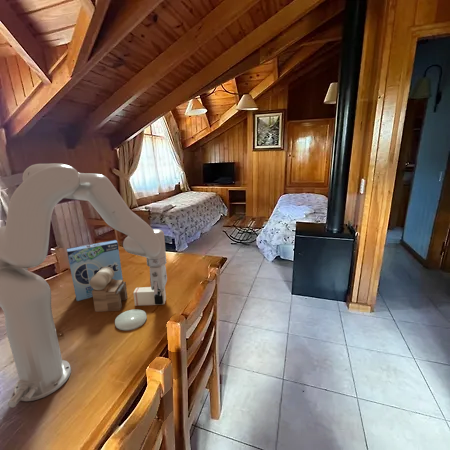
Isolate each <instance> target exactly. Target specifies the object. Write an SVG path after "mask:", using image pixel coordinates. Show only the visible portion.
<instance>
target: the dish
mask: <svg viewBox="0 0 450 450" xmlns="http://www.w3.org/2000/svg"><path fill="white" fill-rule="evenodd" d="M146 322H147V312H146V311H145V310H142V309H140V308H139V309H138V308H137V309H136V308H135V309H130V310H126V311H123V312H121V313H120V314H119V315H117V316H116V317H115V320H114V325H115V328H116V329H117V330H120V331H132V330H136V329H138V328H140V327H142V326H143V325H144V324H145V323H146Z"/></svg>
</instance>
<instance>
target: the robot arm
mask: <svg viewBox="0 0 450 450" xmlns="http://www.w3.org/2000/svg"><path fill="white" fill-rule="evenodd" d="M63 199H68V200H78V201H85V202H86V201H87V202H89V203H90V206H92V207H93V208H94V210H95V211H96V212H97V214H99V216H100V217H101V218H102V220H103V222H105V223H106V224H107V225H108V226H109V227H111V228H112V229H114V230H115V231H118V232H119V233H122V234H124V235H125V236H126V237H125V238H124V239H123V241H122V242H123V243H122V248H123V250H125V252H126V253H128V254H130V255H131V254H132V255H136V256H139V257H144V258H146V265H147V267H149V281H150V287H151V289H152V290H154V299H155V304H162V305H164V304H163V296H162V293H161V290H163V289H164V288H165V289H166V285H167V282H168V275H167V268H166V265H167V253H166V252H167V251H166V241H165V232H164V231H163V230H162V229H159V228H152V226H150V225H149V224H148V222H146V221H145V220H143V218H141V217H140V216H139V215H138V214H136V213H135V212H133V211H132V210H131V209H130V207H129V205H127V203H126V202H125V201H124V199H123V197H122V195H120V193H119V192H118V190H117V189H116V187H115V186H114V184H113V183H112V182H111V180H110V179H109V178H108V177H107V176H106V175H103V174H102V173H101V174H100V173H89V172H88V173H87V172H86V173H84V172H79V171H78V170H77V169H76V168H74V167H73V166H71V165H68V164H64V163H54V162H53V163H35V164H31V165H30V166H28V167H27V168H26V169H24V171H23V173H22V182H21V183H20V184H19V185H18V186H17V187H16V189H15V190H14V191H13V193H12V195H11V197H10V199H9V204H8V207H7V208H8V209H7V215H6V220H5V225H3V226H0V308H1V310H2V311H3V314H4V326H5V332H6V337H7V340H8V343H9V347H10V350H11V353H12V358H13V361H14V365H15V369H16V373H17V375H18V380H17V381H16V383H15V385H14V388H13V392H14V395H12V397H11V398H10V400H9V401H8V402H7V406H8V407H9V408H15V407H17V405H18V404H19V403H20V402H21V401H22V402H32V401H37V400H40V399H43V398H45V397H47V396H49V395H51V394H53V393H54V392H56V391H57V390H58V389H60V388H61V387H62V386H63V385H64V384H65V383H66V382H67V381H68V379H69V378H70V375H71V373H72V367H71V364H70V363H69V361H67V360H64V359H63V357H62V352H61V349H60V344H59V339H58V333H57V329H56V324H55V321H54V316H53V310H52V289H51V286H50V285H49V283H48V281H47V280H46V279H45V278H43V277H42V276H40V275H38V274H37V273H34V272H32V271H29V270H28V269H31V268H36V267H38V266H40V265H41V264H42V263H44V261H45V260H46V259H47V256H48V252H49V244H50V243H49V242H50V232H51V231H50V230H51V222H52V215H53V212H54V209H55V208H56V206H57V204H58V203H60V202H61V201H62V200H63ZM158 287H159V288H158ZM158 290H160V292H158Z"/></svg>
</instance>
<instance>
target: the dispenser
mask: <svg viewBox="0 0 450 450" xmlns="http://www.w3.org/2000/svg"><path fill="white" fill-rule="evenodd" d="M113 277H114V270H113V269H112V268H110V267H107V266H106V267H102V268H101V269H100V270H99V271H98V272H97V273H96V274H95V275H94V276H93V278H92V279H91V280H90V285H91V287H92V288H93V291H92V295H93V297H92V301H93V308H94V312H115V311H117V312H119V311H121V310H122V307H123V305H122V301H126V300H127V299H128V297H129V296H128V291H127V284H126V283H127V282H126V281H124V279H123V280H115V279H112V278H113Z"/></svg>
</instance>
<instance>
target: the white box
mask: <svg viewBox="0 0 450 450" xmlns="http://www.w3.org/2000/svg"><path fill="white" fill-rule="evenodd" d="M158 288H159V287H158ZM158 292H160V290H158ZM161 293H162V296H163V304H155V299H154V290H152V289H151V286H145V287H138V286H137V287H135V289H134V291H133V293H132V294H133V301H134V306H135V307H136V306H137V307H138V306H157V305H158V306H159V305H166V304H165V303H166V302H167V301H166V300H167V295H166V294H167V293H166V287H165V288H164V289H163V290H161Z"/></svg>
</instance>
